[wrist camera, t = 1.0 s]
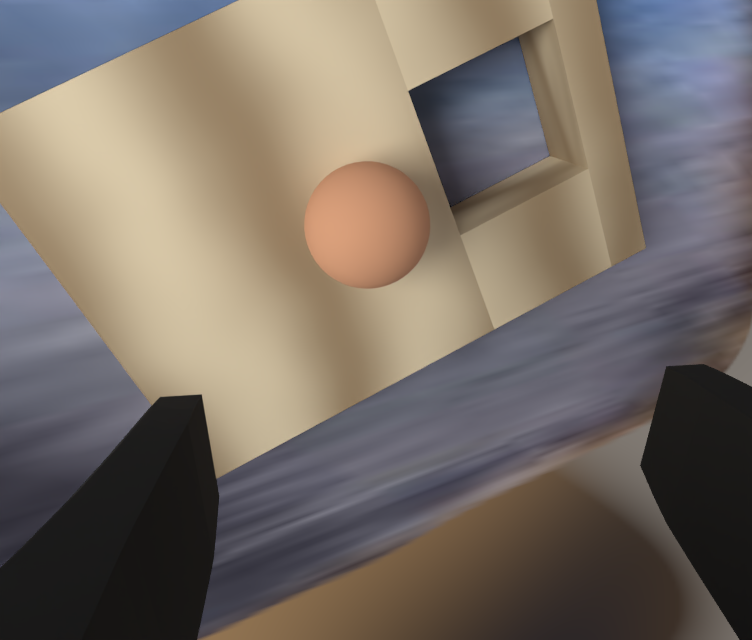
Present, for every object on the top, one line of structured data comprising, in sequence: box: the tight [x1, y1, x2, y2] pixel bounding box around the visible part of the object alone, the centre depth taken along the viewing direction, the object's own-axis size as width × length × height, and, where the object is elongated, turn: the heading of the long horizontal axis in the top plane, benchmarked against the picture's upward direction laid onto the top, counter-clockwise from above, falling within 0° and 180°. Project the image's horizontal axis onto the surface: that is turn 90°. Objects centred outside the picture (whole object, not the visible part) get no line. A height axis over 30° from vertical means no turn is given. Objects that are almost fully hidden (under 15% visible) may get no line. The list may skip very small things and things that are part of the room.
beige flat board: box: [0, 0, 646, 479], centre depth 21 cm, size 18×13×2 cm
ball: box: [304, 161, 430, 289], centre depth 18 cm, size 4×4×4 cm
